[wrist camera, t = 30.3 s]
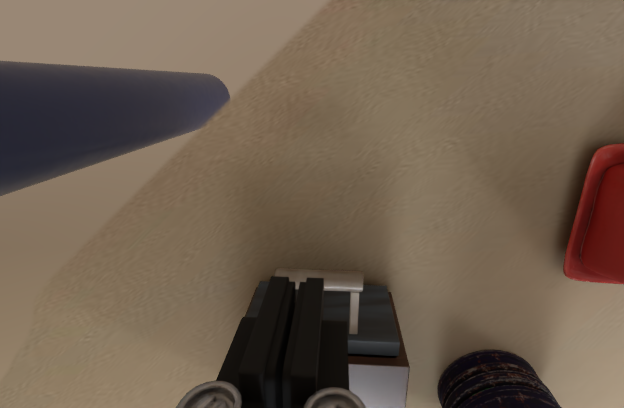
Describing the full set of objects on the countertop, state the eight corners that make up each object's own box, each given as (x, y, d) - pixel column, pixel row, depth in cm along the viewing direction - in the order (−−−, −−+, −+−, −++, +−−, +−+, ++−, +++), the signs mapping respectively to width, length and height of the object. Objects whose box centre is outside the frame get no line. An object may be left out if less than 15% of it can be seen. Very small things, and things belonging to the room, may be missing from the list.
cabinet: (256, 286, 33) (227, 357, 25) (391, 291, 32) (409, 367, 24) (263, 396, 38) (241, 489, 29) (382, 403, 37) (395, 501, 28)
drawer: (257, 231, 30) (233, 275, 24) (390, 234, 30) (405, 280, 23) (266, 387, 36) (249, 459, 29) (378, 393, 35) (388, 469, 28)
